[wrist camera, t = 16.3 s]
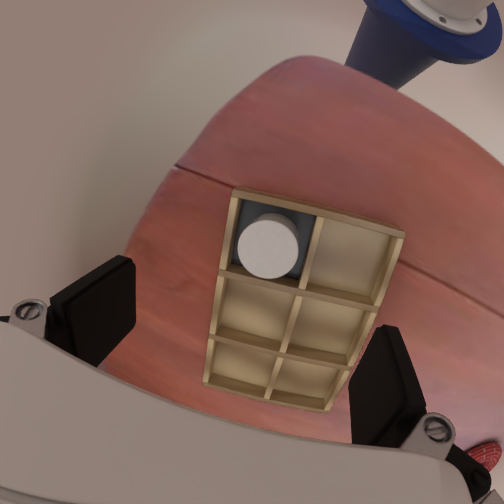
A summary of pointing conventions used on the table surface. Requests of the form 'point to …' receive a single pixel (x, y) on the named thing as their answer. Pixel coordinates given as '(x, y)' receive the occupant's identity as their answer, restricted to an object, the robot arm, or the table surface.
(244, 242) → the grey squat cylinder
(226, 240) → the compartment tray
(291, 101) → the table surface
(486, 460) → the torus
